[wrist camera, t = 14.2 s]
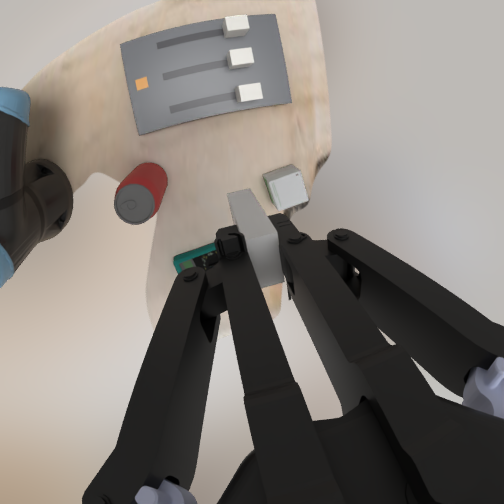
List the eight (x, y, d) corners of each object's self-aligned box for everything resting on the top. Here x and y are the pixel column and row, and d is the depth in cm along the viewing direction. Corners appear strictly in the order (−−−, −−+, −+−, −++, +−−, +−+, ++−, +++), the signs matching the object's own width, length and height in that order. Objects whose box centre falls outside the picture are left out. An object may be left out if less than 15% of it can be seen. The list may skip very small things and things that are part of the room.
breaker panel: (142, 134, 38) (132, 138, 32) (123, 47, 30) (112, 38, 24) (287, 103, 40) (301, 102, 34) (271, 18, 32) (283, 5, 26)
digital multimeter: (257, 259, 54) (260, 267, 52) (187, 284, 54) (188, 293, 52) (246, 227, 51) (248, 234, 48) (172, 255, 50) (171, 263, 48)
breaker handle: (229, 69, 33) (232, 65, 30) (226, 55, 32) (229, 50, 29) (249, 66, 34) (254, 62, 30) (246, 52, 32) (251, 47, 29)
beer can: (127, 165, 40) (105, 184, 30) (165, 158, 41) (154, 176, 31) (133, 201, 43) (116, 231, 33) (170, 196, 44) (162, 225, 34)
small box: (261, 174, 46) (268, 181, 41) (292, 163, 46) (301, 169, 41) (271, 202, 49) (278, 213, 44) (300, 192, 49) (310, 201, 44)
